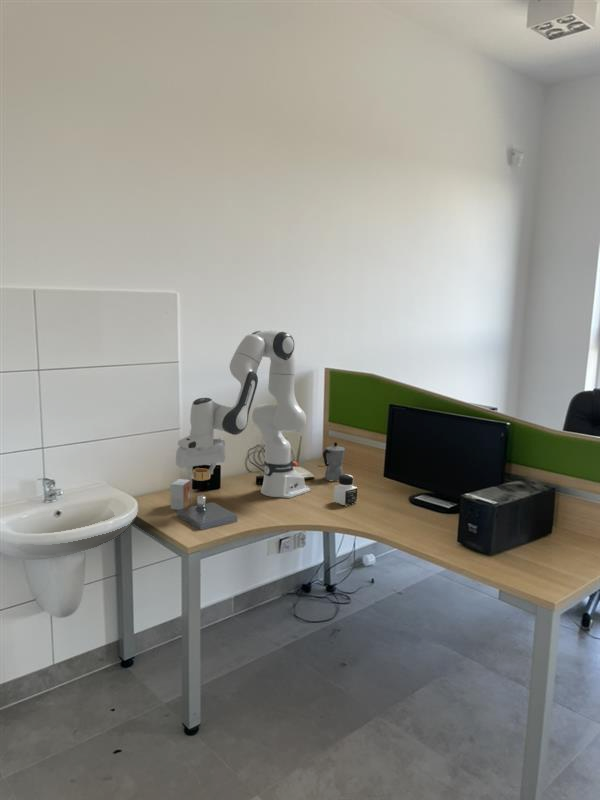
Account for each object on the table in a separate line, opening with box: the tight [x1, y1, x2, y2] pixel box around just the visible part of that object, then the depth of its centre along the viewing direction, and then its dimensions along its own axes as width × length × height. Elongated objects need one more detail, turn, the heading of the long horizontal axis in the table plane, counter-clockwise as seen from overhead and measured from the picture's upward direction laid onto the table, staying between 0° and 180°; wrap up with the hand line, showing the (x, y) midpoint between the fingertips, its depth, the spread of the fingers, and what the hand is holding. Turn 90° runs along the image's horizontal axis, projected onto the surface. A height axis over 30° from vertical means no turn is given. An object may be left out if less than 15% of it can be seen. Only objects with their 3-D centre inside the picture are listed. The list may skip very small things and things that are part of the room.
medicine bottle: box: [333, 473, 358, 506], centre depth 257 cm, size 7×7×12 cm
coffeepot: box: [322, 442, 346, 482], centre depth 290 cm, size 15×9×18 cm, turn 138°
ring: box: [191, 467, 211, 482], centre depth 234 cm, size 7×7×3 cm
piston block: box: [176, 494, 239, 531], centre depth 233 cm, size 16×18×8 cm
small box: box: [170, 478, 192, 511], centre depth 245 cm, size 8×6×10 cm
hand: (201, 475), depth 234 cm, fingers closed on ring, 7 cm apart
